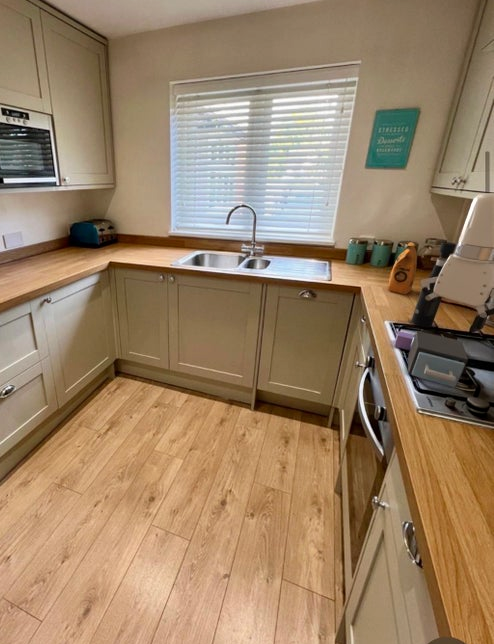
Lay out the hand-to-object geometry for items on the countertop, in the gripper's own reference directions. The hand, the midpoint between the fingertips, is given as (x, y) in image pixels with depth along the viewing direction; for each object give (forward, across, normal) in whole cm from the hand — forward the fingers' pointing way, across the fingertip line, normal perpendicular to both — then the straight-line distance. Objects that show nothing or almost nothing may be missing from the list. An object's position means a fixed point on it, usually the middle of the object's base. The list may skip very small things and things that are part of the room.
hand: (450, 322), depth 79 cm
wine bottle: (+18, +21, -40) cm, 49 cm away
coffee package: (+18, +47, -71) cm, 87 cm away
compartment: (+18, +3, -9) cm, 21 cm away
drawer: (+17, +1, -5) cm, 18 cm away
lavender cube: (+18, +15, -16) cm, 29 cm away
